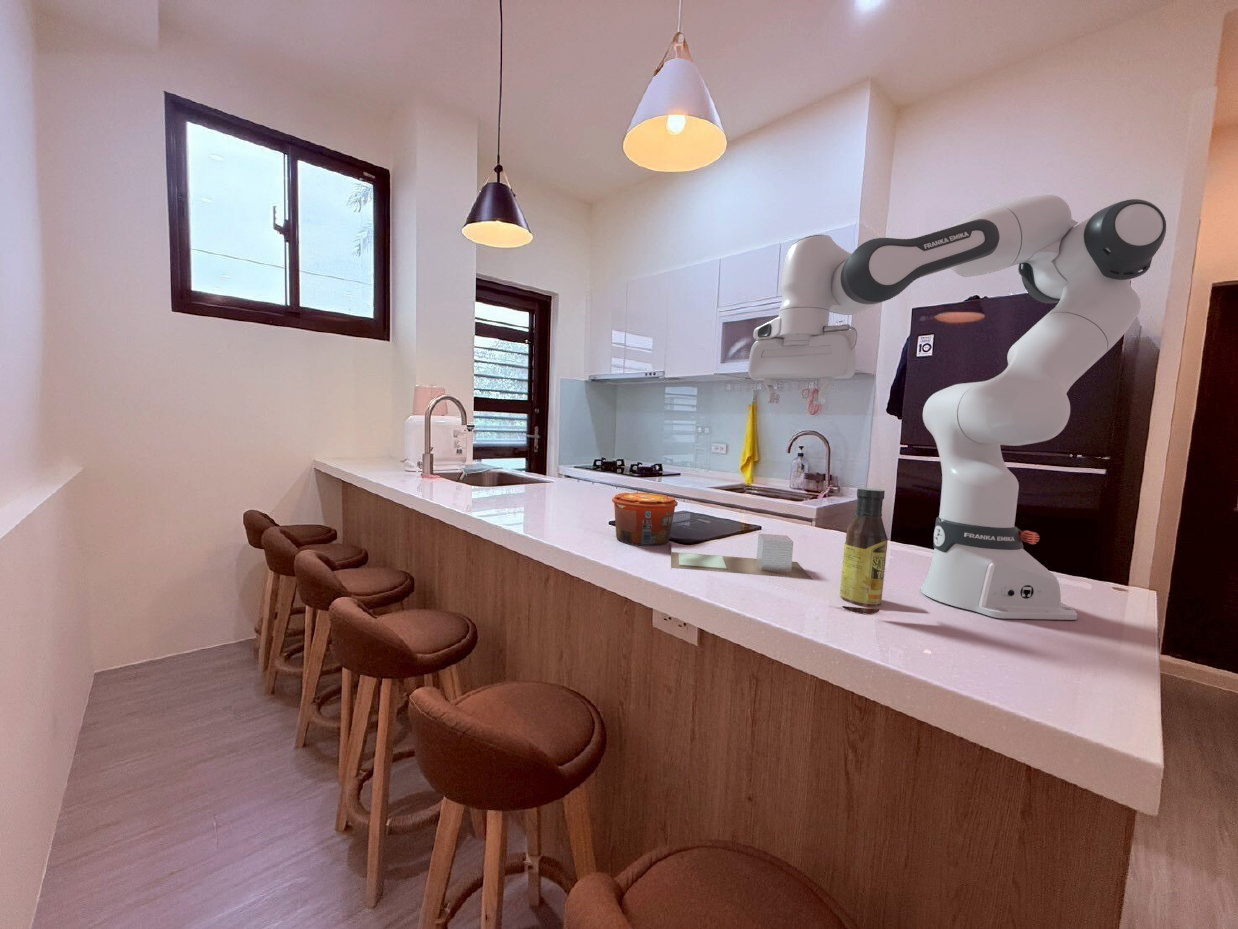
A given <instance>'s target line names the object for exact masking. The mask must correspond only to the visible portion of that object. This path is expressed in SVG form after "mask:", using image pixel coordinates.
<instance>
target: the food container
mask: <svg viewBox="0 0 1238 929" xmlns="http://www.w3.org/2000/svg"><path fill="white" fill-rule="evenodd" d="M611 501H612V502H613V506H614V522H615V523H614V524H615V537H616V539H617V540H618V541H620V542H621V543H624V544H629V545H632V546H638V547H639V546H641V547H654V546H655V547H657V546H662V545H663V546H664V545H666V544H667V543H669V540H670V534H671V531H672V524H673V519H674V515H675V510H676V507H677V506H678V505H679V504H678V501H676V499H675V498H674V496H672V497H671V496H670V497H669V496H668V495H667V494H666V495H665V494H658V493H655V494H653V493H650V492H649V493H648V492H634V493H633V492H632V493H629V492H621V493H618V494H615V495H614V497H612V499H611ZM612 502H611V503H612Z"/></svg>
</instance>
